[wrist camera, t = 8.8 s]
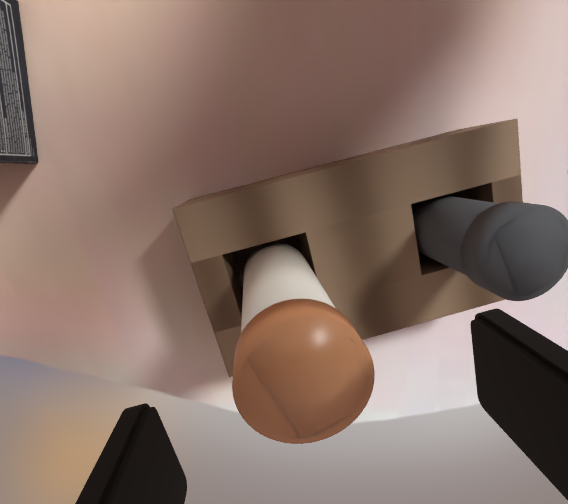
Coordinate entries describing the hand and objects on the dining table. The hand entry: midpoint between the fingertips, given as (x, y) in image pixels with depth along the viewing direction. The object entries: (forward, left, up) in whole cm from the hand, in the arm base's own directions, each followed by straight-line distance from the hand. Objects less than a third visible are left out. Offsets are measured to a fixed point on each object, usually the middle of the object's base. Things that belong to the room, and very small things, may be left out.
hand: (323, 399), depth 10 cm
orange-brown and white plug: (0, 0, -14) cm, 14 cm away
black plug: (-12, 0, -18) cm, 22 cm away
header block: (-6, 0, -19) cm, 20 cm away
